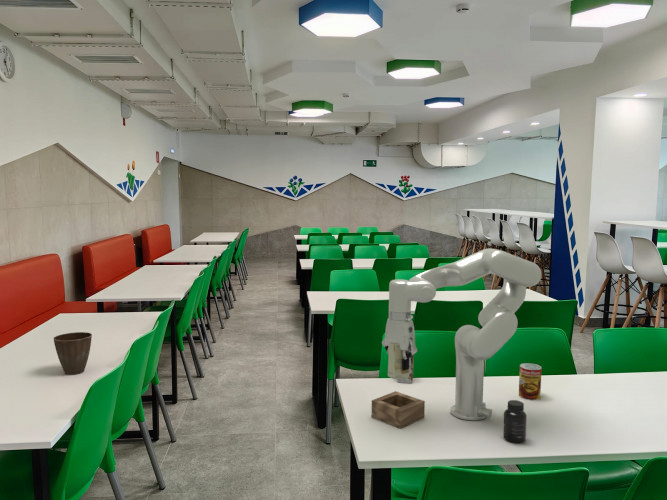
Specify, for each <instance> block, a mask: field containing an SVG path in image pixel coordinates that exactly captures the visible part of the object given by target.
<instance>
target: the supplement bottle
mask: <svg viewBox="0 0 667 500" xmlns="http://www.w3.org/2000/svg"><path fill="white" fill-rule="evenodd" d="M506 407H507V408H506V409H505V410H504V412H503V428H502V429H503V431H502V432H503V433H502V436H503V438H504V440H505V441H507V442H509V443H512V444H517V445H518V444H523V443H524V442H526V439H527V438H526V437H527V420H528V419H527V413H526V411H524V410H525V405H524V402H522V401H520V400H516V399H515V400H514V399H512V400H511V399H510V400H508V401H507V406H506Z"/></svg>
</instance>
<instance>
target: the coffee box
mask: <svg viewBox="0 0 667 500" xmlns="http://www.w3.org/2000/svg"><path fill="white" fill-rule="evenodd" d="M410 351H411V349H410ZM414 355H415V354H413V355H412V356H411V358H409V377H408V378H401V379H396V380H397V381H396V382H397V383H403V384H412V383H413V379H414V361H415V360H414V358H415V357H414Z"/></svg>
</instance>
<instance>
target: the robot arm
mask: <svg viewBox="0 0 667 500" xmlns="http://www.w3.org/2000/svg"><path fill="white" fill-rule="evenodd" d="M490 274H491V275H493V276H497V277H500V278H502V279H503V285H502V287H501V289H500V291H498V293H497V294H496V295H495V297H494V298H492V299H491V300H490V301H489V302H488V304H486V305H485V306H484V307H483V308H482V309H481V310H480V312H479V314H478V315H477V317H478V318H477V319H478V323H479V324H480V325H481V327H482V328H479V327H477V326H474V325H473V324H465V325H462V326H461V327H459V328H458V330H457V331H456V333H455V336H454V347H455V357H456V358H455V362H456V363H455V392H454V394H455V395H454V398H455V399H454V405H452V406H451V407H450V414H451V415H452V416H454V417H455V418H458V419H462V420H465V421H481V420H483V419H485V418H487V417H488V418H491V417H492V416H493V409H492V408H487V407H486V404H487V403H486V402H484V375H485V361H487V360H488V359H490V358H492V357H493V356H494V355H495V354H496V353H497V352H498V351H499V350H501V348H502V347H503V346H504V345H505V344H506V343H507V342H508V341H509V340H510V339H511V338H512V337H513V336H514V334H515V333H516V331H517V328H518V323H519V322H518V318H517V316H516V314H515V313H516V312H517V311H518V310H519V309H520V307H521V306H522V304H523V303H524V301H525V298H526V294H527V287H528V288H530V287H534V286H536V285H538V283H540V281H541V279H542V270H541V268H540V267H539V266H538V264H536V263H535V262H533V261H530V260H527V259H524V258H522V257H520V256H517V255H514V254H511V253H509V252H507V251H504V250H502V249H496V248H491V247H490V248H484V249H481V250H479V251H477V252H475V253H473V254H470V255H467V256H465V257H464V258H460V259H458V260H457V261H454V262H451V263H447V264H444V265H441V266H438V267H434V268H431V269H428V270H425V271H424V272H421V273H418V274H416V275H414V276H413V277H411V278H409V280H408V279H400V278H399V279H391V280H390V282H389V286H388V318H387V321H386V324H385V332H384V334H385V335H384V339H383V340H382V341H381V345H382V346H383V347H384V349H385V351H386V354H387V355H388V356H389V342H391V343H395V344H398V345H399V349H400V350H402V353H403V358H404V359H402V370H403V371H404V370H407V369H409V358H411V356H412V355H413V354H414V355H415V354H416V353H417V352H418V349H417V347H416V339H415V338H416V336H415V335H416V334H415V325H414V322H413V320H412V319H413V318H414V316H413V315H412V302H415V303H429V302H431V301H433V300H434V298H435V297H436V296H437V289H440V288H444V287H458V286H465V285H468V284H469V283H472V282H474V281H476V280H479V279H480V278H483V277H485V276H488V275H490ZM409 347H410V348H409ZM410 349H411V351H410ZM406 352H407V354H406Z"/></svg>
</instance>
